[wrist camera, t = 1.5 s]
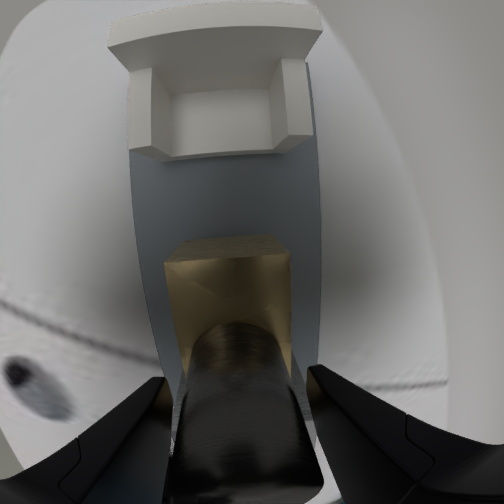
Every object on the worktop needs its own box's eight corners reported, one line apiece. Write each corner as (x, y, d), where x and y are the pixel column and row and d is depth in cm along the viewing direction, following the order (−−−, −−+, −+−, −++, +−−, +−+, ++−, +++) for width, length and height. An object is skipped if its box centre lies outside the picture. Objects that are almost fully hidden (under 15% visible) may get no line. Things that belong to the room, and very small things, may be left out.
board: (306, 428, 18) (309, 437, 17) (189, 438, 17) (188, 447, 16) (303, 69, 12) (307, 62, 11) (136, 81, 12) (130, 75, 11)
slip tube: (276, 449, 14) (300, 558, 6) (222, 453, 14) (225, 564, 6) (271, 233, 11) (374, 344, 3) (183, 240, 11) (83, 364, 3)
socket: (285, 153, 12) (336, 121, 6) (161, 162, 12) (100, 139, 6) (279, 80, 11) (317, 6, 5) (159, 89, 11) (111, 21, 5)
